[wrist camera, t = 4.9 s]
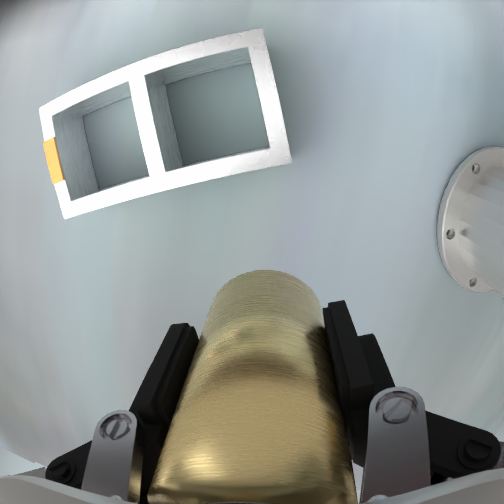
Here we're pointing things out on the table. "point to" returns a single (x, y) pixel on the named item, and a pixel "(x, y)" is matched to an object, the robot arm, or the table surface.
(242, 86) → the table surface
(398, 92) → the table surface
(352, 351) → the robot arm
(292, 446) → the brass bushing
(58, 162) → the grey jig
